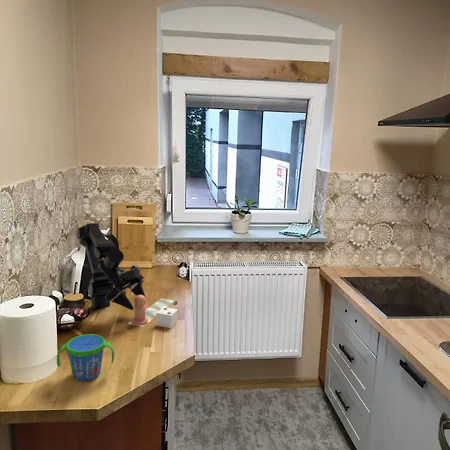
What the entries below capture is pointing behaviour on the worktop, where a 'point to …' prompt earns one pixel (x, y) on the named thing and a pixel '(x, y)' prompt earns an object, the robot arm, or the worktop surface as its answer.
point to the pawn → (140, 311)
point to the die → (167, 317)
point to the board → (156, 309)
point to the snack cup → (85, 355)
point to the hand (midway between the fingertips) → (139, 304)
